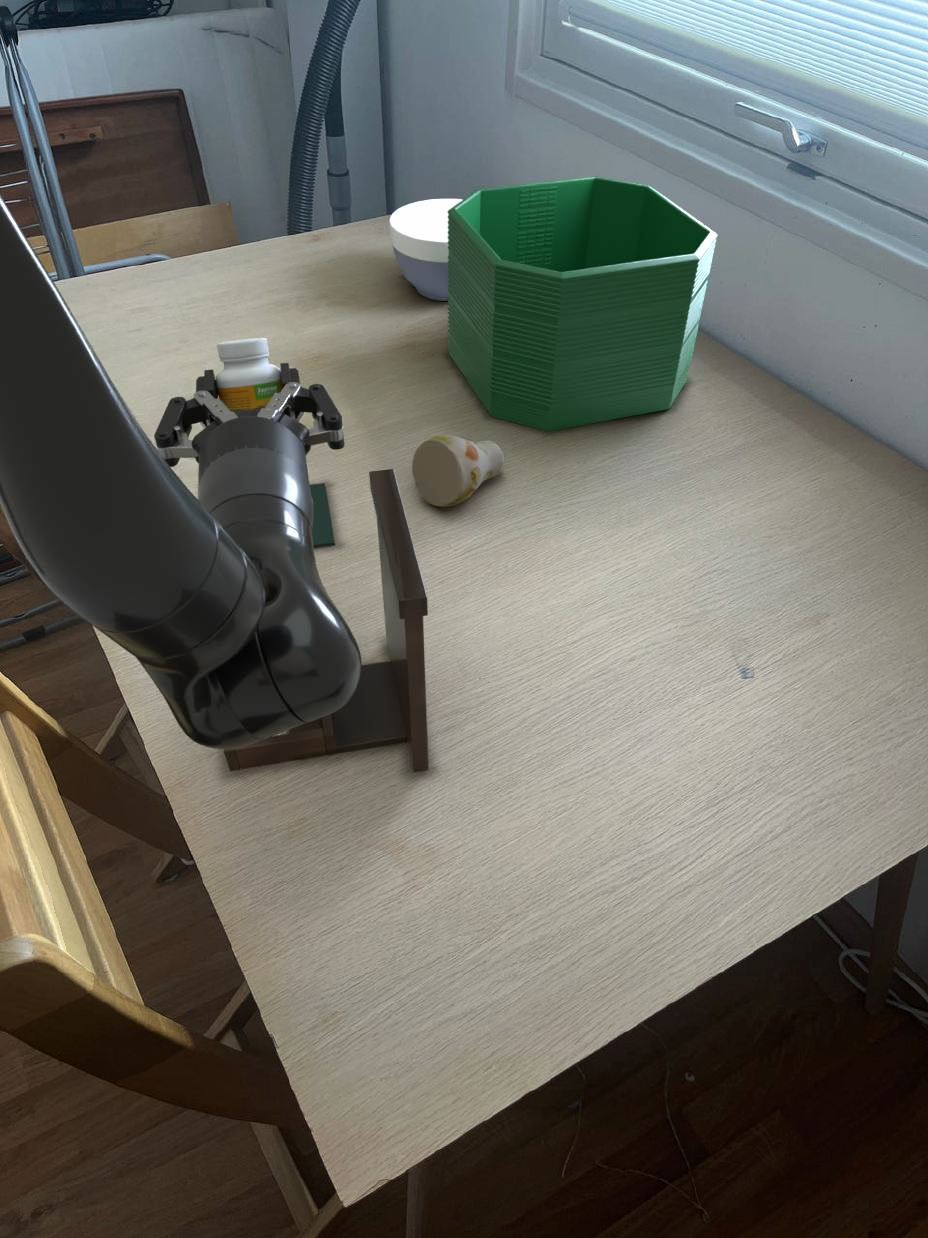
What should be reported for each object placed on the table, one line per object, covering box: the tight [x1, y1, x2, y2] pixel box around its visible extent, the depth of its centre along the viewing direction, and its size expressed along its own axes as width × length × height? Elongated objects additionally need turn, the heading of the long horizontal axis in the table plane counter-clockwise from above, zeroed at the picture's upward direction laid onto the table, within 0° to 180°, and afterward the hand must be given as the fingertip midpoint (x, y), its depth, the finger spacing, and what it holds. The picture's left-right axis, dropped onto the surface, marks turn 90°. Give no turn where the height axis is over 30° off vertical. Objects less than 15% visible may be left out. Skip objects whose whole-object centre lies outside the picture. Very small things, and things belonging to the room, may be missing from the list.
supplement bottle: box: [215, 337, 283, 410], centre depth 73 cm, size 5×5×10 cm
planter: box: [447, 176, 719, 432], centre depth 104 cm, size 26×26×18 cm
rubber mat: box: [310, 482, 336, 549], centre depth 88 cm, size 10×10×1 cm
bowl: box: [388, 198, 464, 302], centre depth 124 cm, size 16×16×10 cm
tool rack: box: [223, 468, 429, 773], centre depth 64 cm, size 15×14×18 cm
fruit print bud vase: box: [411, 434, 505, 507], centre depth 90 cm, size 8×10×10 cm
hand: (248, 376), depth 72 cm, fingers closed on supplement bottle, 5 cm apart
